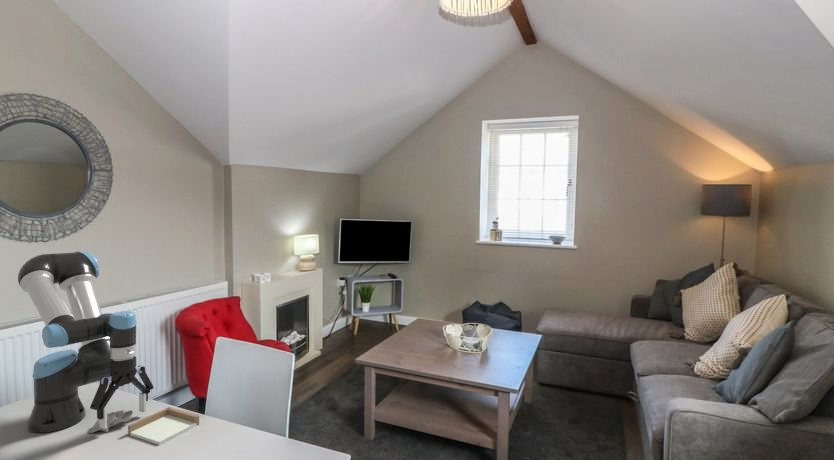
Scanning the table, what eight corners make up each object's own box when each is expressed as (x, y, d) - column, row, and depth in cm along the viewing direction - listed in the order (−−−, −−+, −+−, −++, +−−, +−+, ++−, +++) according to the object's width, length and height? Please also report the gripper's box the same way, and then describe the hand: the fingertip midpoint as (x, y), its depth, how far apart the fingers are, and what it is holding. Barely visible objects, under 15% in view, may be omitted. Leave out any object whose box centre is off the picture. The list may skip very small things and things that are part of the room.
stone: (127, 430, 146) (124, 419, 145) (86, 435, 144) (83, 425, 143) (135, 417, 152) (133, 407, 151) (96, 422, 150) (94, 412, 149)
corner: (128, 434, 144) (127, 425, 144) (169, 415, 158) (168, 407, 157) (159, 445, 138) (159, 435, 138) (199, 424, 151) (199, 415, 151)
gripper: (90, 370, 136) (91, 437, 137) (164, 349, 159) (164, 407, 160) (76, 367, 139) (77, 433, 140) (150, 346, 162) (150, 403, 163)
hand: (123, 419), depth 150 cm, fingers open, 13 cm apart
